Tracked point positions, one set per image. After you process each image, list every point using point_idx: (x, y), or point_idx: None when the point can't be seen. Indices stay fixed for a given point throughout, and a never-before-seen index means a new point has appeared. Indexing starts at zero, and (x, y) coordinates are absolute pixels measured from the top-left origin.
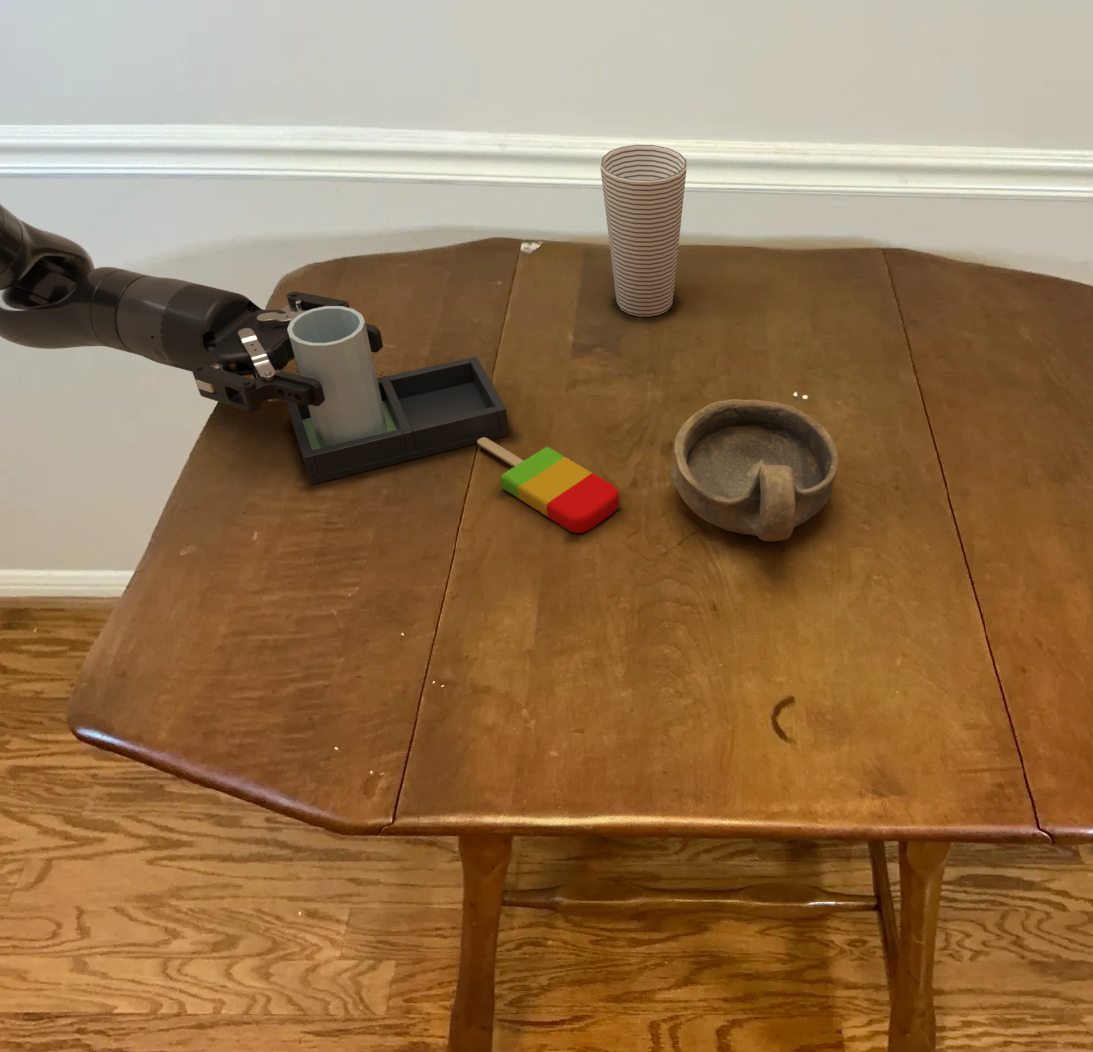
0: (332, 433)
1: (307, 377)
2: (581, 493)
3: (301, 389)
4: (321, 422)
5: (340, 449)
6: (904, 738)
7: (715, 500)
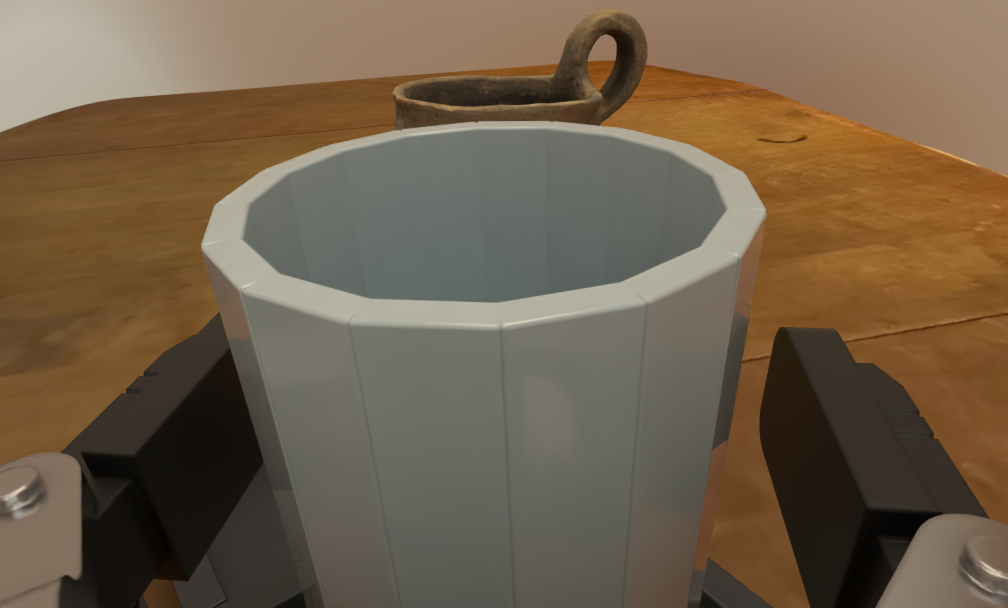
0: None
1: (801, 361)
2: None
3: (885, 381)
4: None
5: (734, 579)
6: (746, 113)
7: (602, 97)
